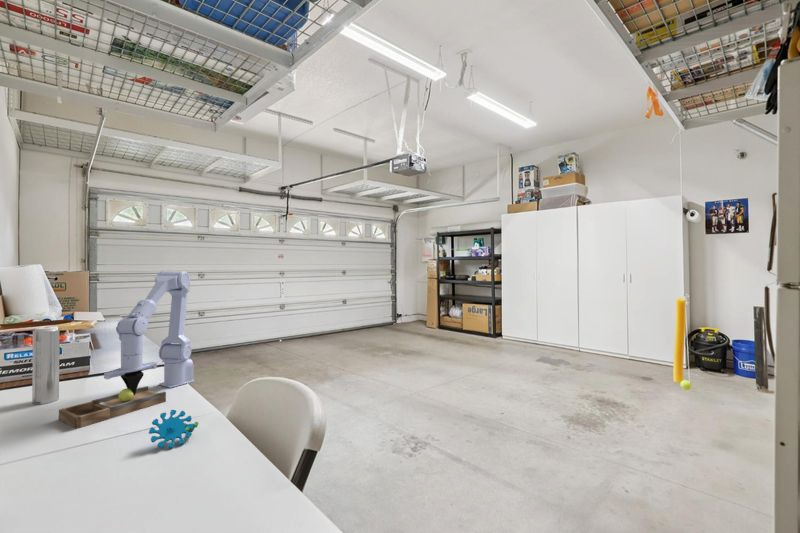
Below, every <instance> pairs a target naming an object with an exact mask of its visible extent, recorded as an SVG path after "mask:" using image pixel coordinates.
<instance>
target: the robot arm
mask: <svg viewBox="0 0 800 533" xmlns="http://www.w3.org/2000/svg"><path fill="white" fill-rule="evenodd" d="M154 282H155V284H154V285H153V286H152V287H151V290H150V292H149V293H148V294H147V296H146V298H145V299H142V300H141V299H140V300H139V301H138V302H137V303H136V305H135V306H134V307H133V308H132V310H131V311H130V313H128V315H127V316H126V317H124V318H121V319H120V320H119V321H118V323H117V325H116V327H115V330H116V333H117V335H118V340H119V341H120V367H119V368H116V369H112V370H109V371H103V379H105V380H110V379H111V378H112V379H113V378H117V377H120V378H121V379H122V381H123V382H124V384H125V386H126V389H127V388H128V389H131V391H132V392H133V394H134V395H135V393H136V390H137V389H138V386H139V384H140V382H141V380H142V378H143V377H144V372H143V371H148V370H152V369H153V370H155V369H157V368H158V362H156V361H152V362H145V363H143V338H144V337H143V334H144V333H145V332H146V331H147V329H148V324H149V320H150V318H151V317H152V316H153V315H154V313H155V311H156V310H157V305H156V304H157V303H158V302H159V301H160V300H161V299H162V298H163V296H164V295H165V294H166V293H169V294H170V296H171V302H170V313H169V323H168V336H166V337H165V338H164V339H163V340H162V341H161V344H160V347H159V350H158V357H159V359H160V360H161V362H162V363H164V364H163V366H164V367H163V370H164V371H163V374H164V375H163V376H164V377H163V382H160V383H158V385H159V386H163V387H166V388H169V389H171V388H172V389H173V388H176V387H179V386H182V385H183V386H184V385H187V384H189V383H190V384H191V383H193V382H195V379H194V362H193V360H192V359H191V358H190V357H191V355H192V346H191V340H190V339H189V338H188V337H187V336H185V327H186V315H187V314H186V313H187V303H188V293H189V292H190V287H191V277H190V275H189V273H188V272H187V271H185V270H182V271H177V270H176V271H169V270H167V271H164V270H160V271H159V272H157V274H156V276H155V277H154ZM185 382H186V383H185ZM134 395H133V396H134Z"/></svg>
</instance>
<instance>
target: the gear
mask: <svg viewBox="0 0 800 533" xmlns="http://www.w3.org/2000/svg"><path fill="white" fill-rule="evenodd" d="M176 413H177V410H176V409H171V410H170V412H169V414H170V415H169V417H168V418H166V416H167V413H166V411H165V412H162V413H160V414H159V417H160V419H161V420H162V423H159V418H155V419H153V420H152V421H151V425H152V426H151V427H150V429H149V431H148V434H149V435H150V434H151V435H152V436H150V442H151V443H155V442H156V441H158V440H161V441H159V442H158V443H157V447H159V449H162V448H163V447H164V445H165V444H166V443H167V442H169V441H171V442H169V443H168V445H167V449H174V447H175V441H176V439H179V440H178V442H177V445H178V446H181V445H184V444H185V439H184V438H183V437H182V436H183V434H185V438H186V439H189V438H190V437H191V436H192V435H193V432H194V430H195V429H196V428H197V427H198V426H199V422H198V421H195V422H194V423H190V422H191V421H192V416H191V415H188V416H186V417H185V415H186V411H184V410H181V411H180V412H179V414H178V415H177V416H175V417H174V415H175V414H176ZM180 417H181V418H180ZM182 417H185V418H182ZM185 422H187V423H185ZM153 425H154V426H156V427H157V428H158V429H156V428H155V427H153ZM153 434H158V435H159V436H156V435H153ZM162 439H164V440H162Z"/></svg>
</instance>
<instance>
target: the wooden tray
mask: <svg viewBox="0 0 800 533" xmlns="http://www.w3.org/2000/svg"><path fill="white" fill-rule="evenodd" d="M118 395H119V393H116V394H111V395H108V396H107V395H106V396H104V397H100V398H97V399H93V400H91V401H87V402H83V403H80V404H75V405H72V406H71V405H70V406H68V407H63V408H60V409H58V421H60V422H62V423H64V424H66V425H69V426H70V427H72V428H74V429H77V430H78V429H80V428H83V427H87V426H90V425H93V424H96V423H100V422H104V421H106V420H110V419H113V418H117V417H120V416H122V415H123V416H124V415H126V414H129V413H132V412H136V411H139V410H142V409H145V408H148V407H152V406H156V405H159V404H162V403H165V402H167V401H166V399H167V391H162V392H157V391H156V392H155V391H153V390H150V389H149V386H148V385H147V386H142V387H139V388H138V387H137V390H136V393H135V395H134V396H133V397H132V399H130V400H129V401H121V400H120V399H119V397H118Z"/></svg>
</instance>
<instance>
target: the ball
mask: <svg viewBox="0 0 800 533" xmlns="http://www.w3.org/2000/svg"><path fill="white" fill-rule="evenodd" d="M118 394H119V395H118V397H119V399H120V400H121V401H129V400H130V399H132V397H133V395H134V394H133V392H132V391H131V389H128V388H127V387H126V388H124V389H122V390H120V392H119V393H118Z"/></svg>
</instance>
